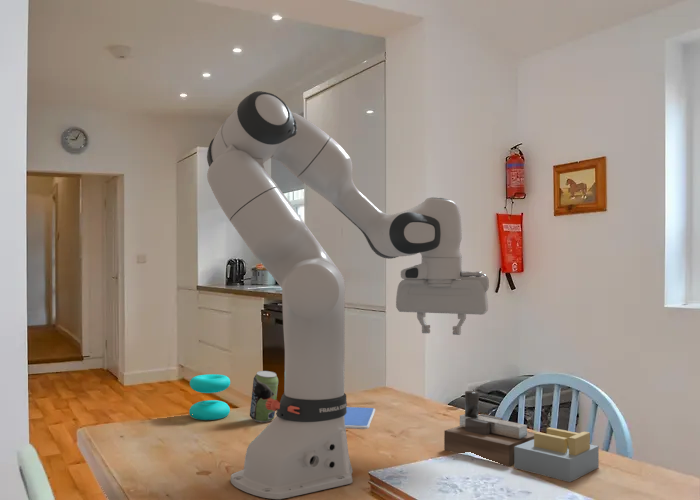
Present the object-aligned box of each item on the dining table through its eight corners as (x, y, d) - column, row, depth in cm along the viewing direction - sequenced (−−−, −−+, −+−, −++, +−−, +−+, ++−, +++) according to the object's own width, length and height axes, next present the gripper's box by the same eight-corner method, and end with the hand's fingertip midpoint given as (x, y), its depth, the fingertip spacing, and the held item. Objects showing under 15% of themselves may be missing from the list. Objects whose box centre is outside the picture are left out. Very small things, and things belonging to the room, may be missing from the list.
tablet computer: (368, 431, 146) (368, 425, 146) (315, 429, 148) (315, 423, 148) (375, 412, 165) (375, 407, 165) (328, 410, 167) (328, 405, 167)
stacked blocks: (570, 482, 110) (570, 442, 110) (514, 467, 118) (514, 430, 118) (598, 467, 119) (598, 430, 119) (544, 454, 127) (544, 420, 127)
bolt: (519, 438, 122) (519, 402, 123) (459, 425, 132) (459, 391, 132) (526, 436, 125) (527, 399, 125) (467, 423, 134) (467, 389, 135)
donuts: (234, 378, 154) (192, 381, 151) (233, 419, 154) (192, 422, 150) (226, 372, 164) (187, 374, 160) (225, 410, 163) (186, 413, 160)
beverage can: (261, 416, 157) (262, 368, 158) (283, 420, 153) (284, 371, 153) (243, 421, 152) (244, 371, 153) (265, 425, 148) (266, 375, 148)
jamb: (508, 466, 119) (508, 432, 119) (444, 449, 129) (444, 418, 130) (539, 453, 127) (539, 421, 128) (476, 439, 138) (476, 409, 138)
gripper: (491, 271, 137) (491, 334, 137) (402, 271, 145) (402, 330, 145) (486, 271, 132) (486, 337, 131) (393, 271, 139) (393, 333, 139)
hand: (441, 333), depth 138 cm, fingers open, 5 cm apart
